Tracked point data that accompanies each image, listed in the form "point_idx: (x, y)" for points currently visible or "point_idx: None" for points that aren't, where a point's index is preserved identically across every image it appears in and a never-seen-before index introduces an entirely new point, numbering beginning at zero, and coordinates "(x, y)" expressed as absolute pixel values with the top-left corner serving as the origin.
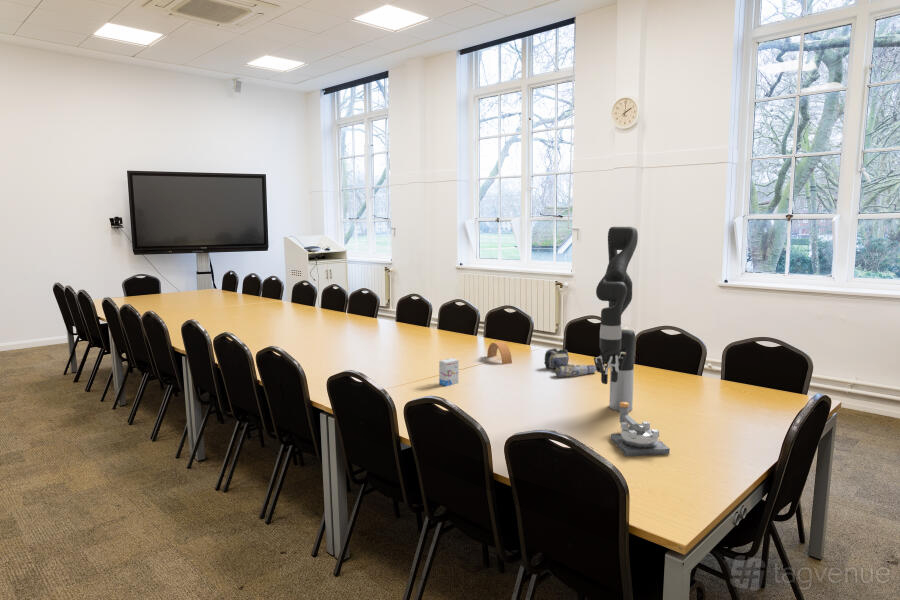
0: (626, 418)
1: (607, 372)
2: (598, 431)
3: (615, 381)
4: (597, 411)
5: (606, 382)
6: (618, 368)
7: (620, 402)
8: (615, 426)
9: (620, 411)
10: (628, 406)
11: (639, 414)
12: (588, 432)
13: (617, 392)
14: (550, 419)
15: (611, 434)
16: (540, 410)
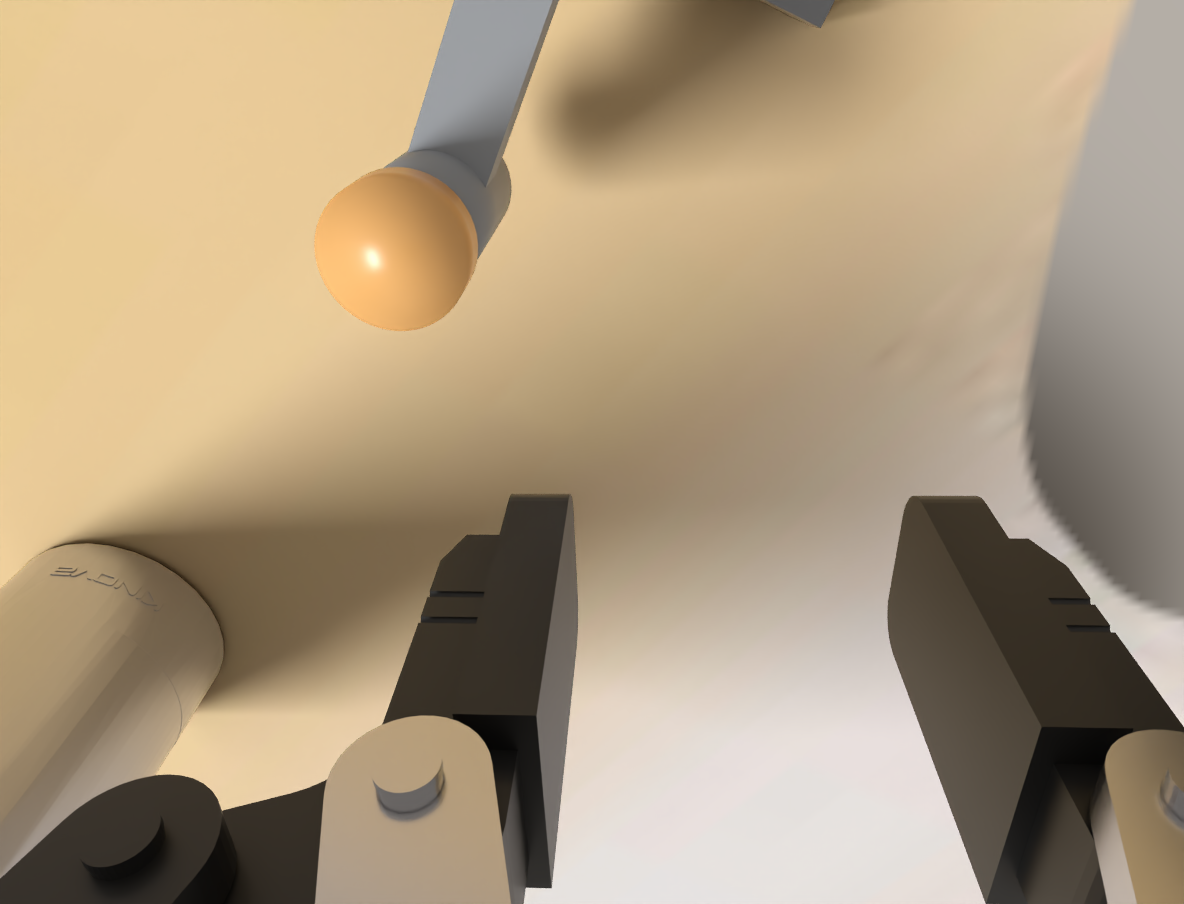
0: (548, 12)
1: (1120, 800)
2: (734, 291)
3: (568, 500)
4: (372, 664)
5: (973, 516)
6: (324, 874)
7: (425, 320)
8: (469, 311)
9: (486, 235)
10: (359, 178)
11: (28, 439)
12: (847, 322)
13: (94, 736)
14: (876, 712)
15: (827, 4)
16: (785, 863)
